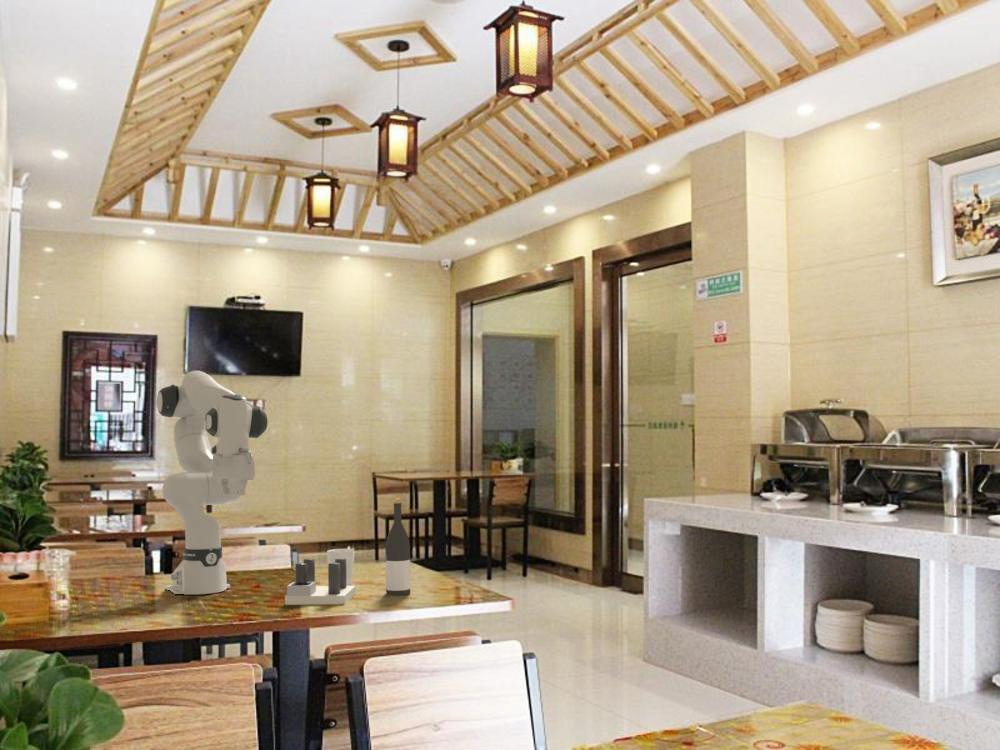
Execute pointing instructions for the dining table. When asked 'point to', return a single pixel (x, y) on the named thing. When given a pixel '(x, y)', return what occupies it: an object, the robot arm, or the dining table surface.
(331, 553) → the cup
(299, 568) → the dark rounded cylinder
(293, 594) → the white board with pegs
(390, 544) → the wine bottle
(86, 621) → the dining table surface
